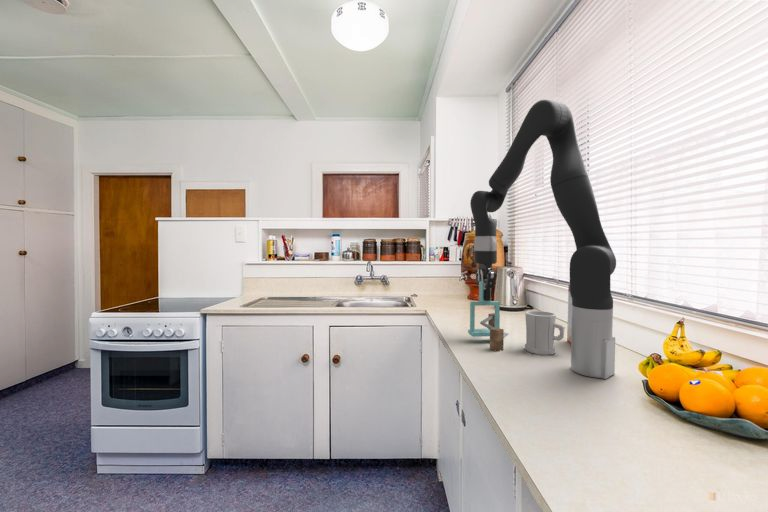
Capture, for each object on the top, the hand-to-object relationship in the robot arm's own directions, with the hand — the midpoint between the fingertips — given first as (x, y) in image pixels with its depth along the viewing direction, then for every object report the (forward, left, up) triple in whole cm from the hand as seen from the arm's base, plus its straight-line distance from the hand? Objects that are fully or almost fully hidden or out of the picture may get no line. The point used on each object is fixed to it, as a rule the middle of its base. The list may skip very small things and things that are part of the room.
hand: (484, 299), depth 121 cm
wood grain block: (-1, -6, -15) cm, 16 cm away
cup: (-18, -5, -15) cm, 24 cm away
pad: (+5, -11, -15) cm, 19 cm away
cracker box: (-24, -20, -15) cm, 35 cm away
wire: (-1, -5, -9) cm, 11 cm away
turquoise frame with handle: (0, 0, -12) cm, 12 cm away
